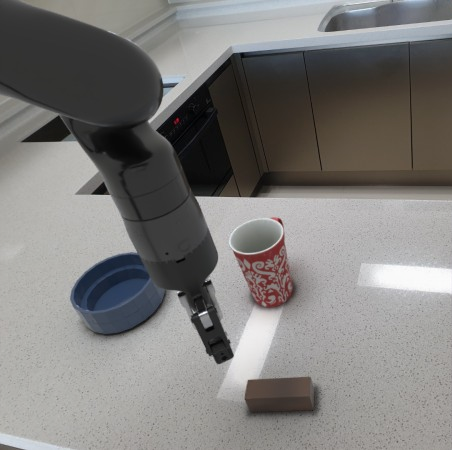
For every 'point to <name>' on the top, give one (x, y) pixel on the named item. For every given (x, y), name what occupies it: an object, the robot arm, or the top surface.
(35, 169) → the top surface
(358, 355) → the top surface
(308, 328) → the top surface
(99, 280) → the bowl
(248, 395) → the bar
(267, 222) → the mug
